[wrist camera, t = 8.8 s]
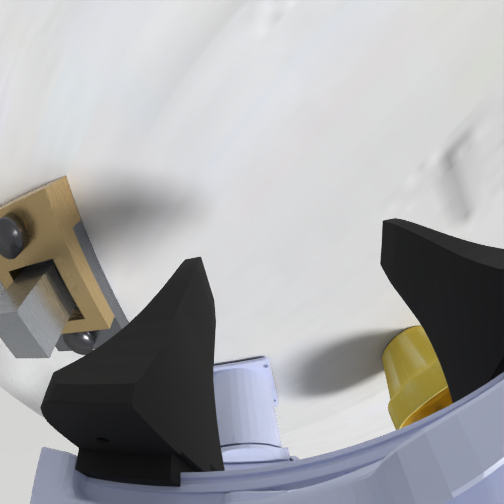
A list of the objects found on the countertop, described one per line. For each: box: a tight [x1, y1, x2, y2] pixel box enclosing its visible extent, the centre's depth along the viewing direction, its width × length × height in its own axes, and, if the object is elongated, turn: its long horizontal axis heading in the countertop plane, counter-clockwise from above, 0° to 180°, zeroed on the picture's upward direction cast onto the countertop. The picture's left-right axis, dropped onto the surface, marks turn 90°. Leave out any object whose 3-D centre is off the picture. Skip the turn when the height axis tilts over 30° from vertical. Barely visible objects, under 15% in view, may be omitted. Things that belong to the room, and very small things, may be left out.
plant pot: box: [382, 326, 453, 430], centre depth 25 cm, size 10×10×10 cm
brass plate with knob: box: [0, 176, 129, 355], centre depth 19 cm, size 15×9×4 cm, turn 10°
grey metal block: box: [0, 259, 77, 358], centre depth 17 cm, size 4×4×8 cm
